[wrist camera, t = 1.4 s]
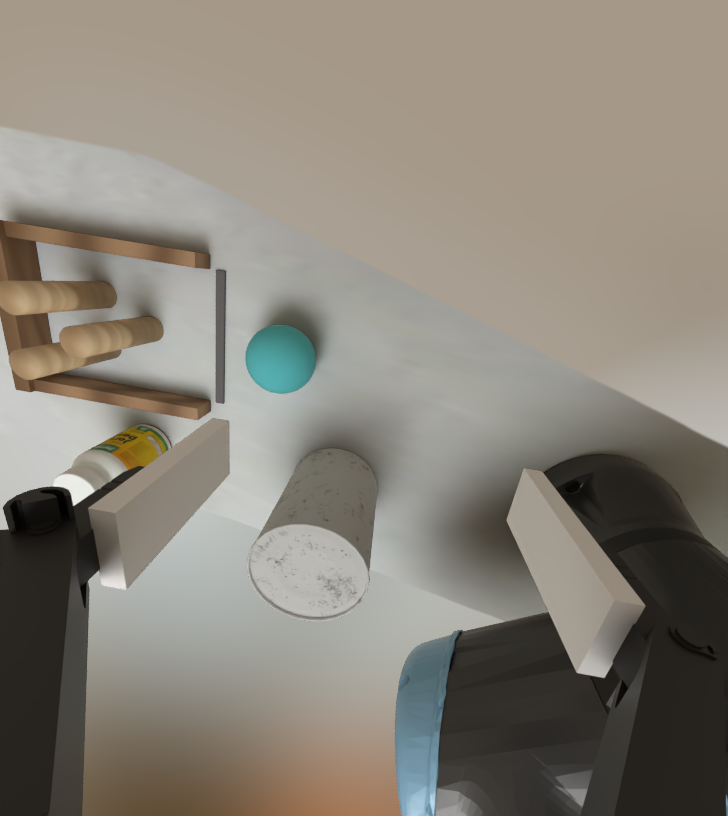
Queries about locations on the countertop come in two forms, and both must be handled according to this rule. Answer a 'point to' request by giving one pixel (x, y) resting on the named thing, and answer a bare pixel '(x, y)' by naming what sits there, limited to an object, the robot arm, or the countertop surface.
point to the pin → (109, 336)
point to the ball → (280, 359)
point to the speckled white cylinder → (318, 539)
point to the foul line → (220, 334)
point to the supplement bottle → (112, 460)
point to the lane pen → (17, 261)
